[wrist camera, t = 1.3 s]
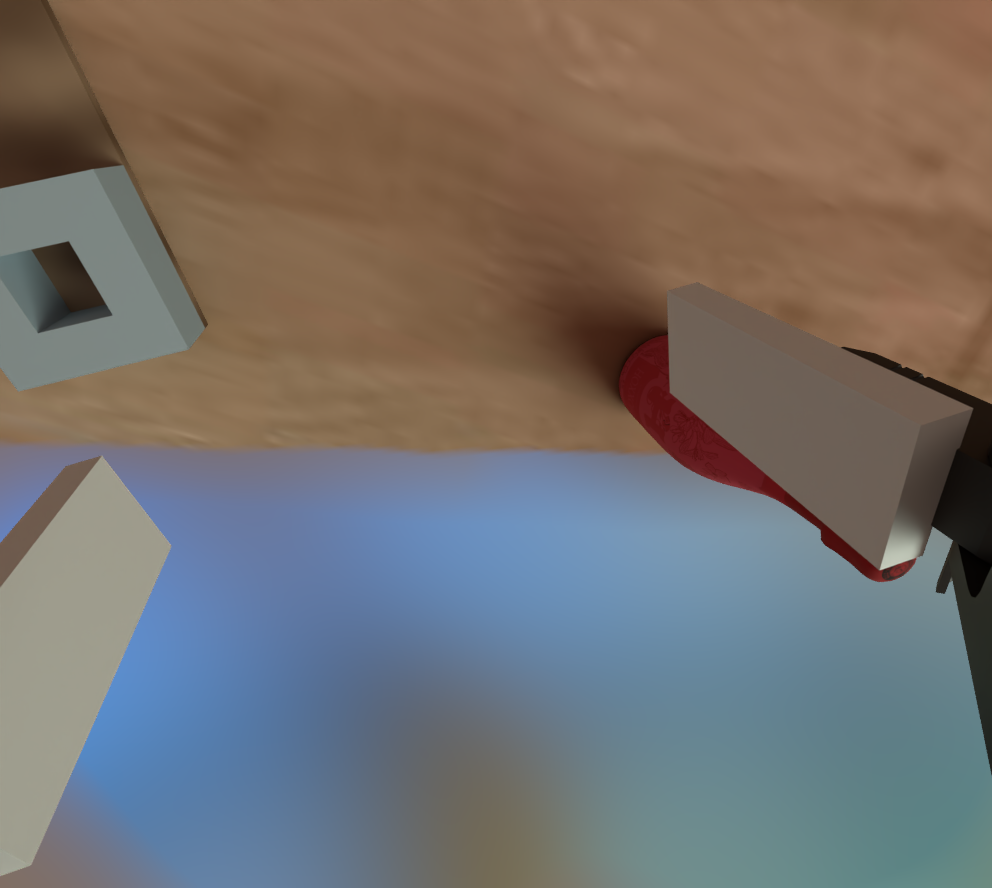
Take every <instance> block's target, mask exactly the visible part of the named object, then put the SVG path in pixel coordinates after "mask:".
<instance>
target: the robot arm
mask: <svg viewBox="0 0 992 888" xmlns="http://www.w3.org/2000/svg"><path fill="white" fill-rule="evenodd" d="M667 309H668V344H669V380H670V393H671V394H672V395H673V396H674V397H676V398H677V399H678V400H679V401H680V402H681V403H683V404H684V405H685V406H686V407H687V408H689V409H690V410H691V411H692V412H693V413H694V414H696V415H697V416H698V417H699V418H700V419H702V420H703V421H704V422H705V423H706V424H707V425H709V426H710V427H711V428H712V429H713V430H714V431H716V432H717V433H718V434H719V435H720V436H722V437H723V438H724V439H725V440H726V441H727V442H729V443H730V444H731V445H732V446H733V447H735V448H736V449H737V450H738V451H739V452H740V453H742V454H743V455H744V456H745V457H746V458H748V459H749V460H750V461H751V462H752V463H753V464H755V465H756V466H757V467H758V468H759V469H760V470H762V471H763V472H764V473H765V474H766V475H768V476H769V477H770V478H771V479H772V480H773V481H775V482H776V483H777V484H778V485H779V486H781V487H782V488H783V489H784V490H785V491H786V492H788V493H789V494H790V495H791V496H792V497H794V498H795V499H796V500H797V501H798V502H799V503H801V504H802V505H803V506H804V507H805V508H806V509H808V510H809V511H810V512H811V513H812V514H814V515H815V516H816V517H817V518H818V519H819V520H821V521H822V522H823V523H824V524H825V525H827V526H828V527H829V528H830V529H831V530H832V531H834V532H835V533H836V534H837V535H838V536H840V537H841V538H842V539H843V540H844V541H845V542H847V543H848V544H849V545H850V546H851V547H852V548H854V549H855V550H856V551H857V552H858V553H860V554H861V555H862V556H863V557H864V558H865V559H867V560H868V561H869V562H870V563H871V564H873V565H874V566H875V567H876V568H877V569H878V570H882V569H885V568H888V567H891V566H894V565H897V564H900V563H902V562H905V561H908V560H911V559H914V558H917V557H920V556H922V555H923V553H924V550H925V547H926V544H927V542H928V539H929V536H930V533H931V529H932V527H934V528H936V529H937V530H939V531H940V532H942V533H943V534H945V535H946V536H948V537H949V538H950V539H952V540H953V542H952V545H951V548H950V550H949V553H948V555H947V558H946V561H945V563H944V566H943V569H942V571H941V574H940V577H939V579H938V582H937V587H936V592H937V593H943V594H944V593H945V592H946V589H947V587H948V584H949V582H951V581H953V585H954V590H955V595H956V600H957V605H958V610H959V615H960V620H961V625H962V630H963V635H964V640H965V644H966V650H967V654H968V660H969V664H970V670H971V675H972V679H973V685H974V690H975V695H976V700H977V705H978V710H979V714H980V719H981V724H982V729H983V734H984V739H985V744H986V749H987V754H988V759H989V764H990V769H991V774H992V404H990V403H988V402H985V401H983V400H981V399H978V398H976V397H974V396H972V395H969V394H967V393H965V392H962V391H960V390H958V389H956V388H953V387H951V386H949V385H946V384H944V383H942V382H940V381H937V380H935V379H933V378H930V377H926V378H924V377H923V374H921V373H919V372H917V371H914V370H912V369H910V368H907V367H905V368H902V367H901V364H898V363H896V362H894V361H891V360H889V359H887V358H885V357H882V356H880V355H878V354H875V353H871V352H866V351H861V350H856V349H852V348H847V347H841V348H840V347H838V346H836V345H833V344H831V343H829V342H827V341H825V340H823V339H820V338H818V337H816V336H814V335H812V334H809V333H807V332H805V331H803V330H801V329H798V328H796V327H794V326H792V325H790V324H787V323H785V322H783V321H781V320H779V319H777V318H774V317H772V316H770V315H768V314H766V313H763V312H761V311H759V310H757V309H755V308H752V307H750V306H748V305H746V304H744V303H741V302H739V301H737V300H735V299H733V298H731V297H728V296H726V295H724V294H722V293H720V292H717V291H715V290H713V289H711V288H709V287H706V286H704V285H702V284H700V283H698V282H696V283H693V284H689V285H686V286H683V287H679V288H676V289H672V290H669V291H667ZM170 548H171V545H170V543H169V542H168V541H167V539H166V538H165V537H164V536H163V534H162V533H161V532H160V530H159V529H158V528H157V527H156V525H155V524H154V523H153V521H152V520H151V519H150V517H149V516H148V515H147V514H146V512H145V511H144V510H143V508H142V507H141V506H140V504H139V503H138V502H137V501H136V499H135V498H134V497H133V495H132V494H131V493H130V491H129V490H128V489H127V488H126V486H125V485H124V484H123V483H122V481H121V480H120V478H119V477H118V476H117V475H116V473H115V472H114V471H113V470H112V468H111V467H110V466H109V464H108V463H107V462H106V461H105V459H104V458H103V457H102V456H99V457H96V458H93V459H89V460H86V461H83V462H79V463H76V464H72V465H69V466H66V467H65V468H64V469H63V470H62V471H61V473H60V474H59V475H58V476H57V477H56V478H55V480H54V481H53V482H52V483H51V484H50V485H49V487H48V488H47V489H46V490H45V491H44V492H43V494H42V495H41V496H40V497H39V498H38V500H37V501H36V502H35V503H34V504H33V506H32V507H31V508H30V509H29V510H28V511H27V512H26V514H25V515H24V516H23V517H22V518H21V519H20V521H19V522H18V523H17V524H16V525H15V527H14V528H13V529H12V530H11V531H10V533H9V534H8V535H7V536H6V537H5V538H4V539H3V541H2V542H1V543H0V876H2V875H4V874H7V873H10V872H13V871H16V870H19V869H21V868H25V867H27V866H30V865H31V864H32V862H33V860H34V857H35V855H36V853H37V851H38V848H39V846H40V844H41V842H42V839H43V837H44V835H45V832H46V830H47V828H48V826H49V823H50V821H51V819H52V817H53V814H54V812H55V810H56V807H57V805H58V803H59V801H60V798H61V796H62V794H63V791H64V789H65V787H66V785H67V782H68V780H69V778H70V776H71V773H72V771H73V768H74V766H75V764H76V762H77V759H78V757H79V755H80V753H81V751H82V748H83V746H84V744H85V742H86V739H87V737H88V735H89V732H90V730H91V728H92V726H93V723H94V721H95V719H96V717H97V714H98V712H99V710H100V707H101V705H102V703H103V701H104V698H105V696H106V694H107V691H108V689H109V687H110V685H111V682H112V680H113V678H114V676H115V673H116V671H117V669H118V667H119V664H120V662H121V660H122V657H123V655H124V653H125V650H126V648H127V646H128V644H129V642H130V639H131V637H132V635H133V632H134V630H135V628H136V625H137V623H138V621H139V619H140V616H141V614H142V612H143V610H144V607H145V605H146V603H147V600H148V598H149V596H150V594H151V592H152V589H153V587H154V585H155V582H156V580H157V578H158V576H159V573H160V571H161V569H162V567H163V564H164V562H165V560H166V557H167V555H168V553H169V551H170Z"/></svg>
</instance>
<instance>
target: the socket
mask: <svg viewBox="0 0 992 888" xmlns="http://www.w3.org/2000/svg"><path fill="white" fill-rule="evenodd" d="M67 241H69V242H70V244H71V246H72V247H73V249H74V251H75V252H76V254H77V256H78V257H79V259H80V261H81V262H82V264H83V266H84V268H85V269H86V271H87V273H88V274H89V276H90V278H91V279H92V281H93V283H94V284H95V286H96V288H97V289H98V291H99V293H100V294H101V296H102V298H103V300H104V301H105V303H106V304H105V305H101V306H97V307H93V308H88V309H84V310H80V311H76V312H70V310H69V308H68V307H67V305H66V304H65V302H64V301H63V299H62V297H61V296H60V294H59V293H58V291H57V290H56V288H55V286H54V285H53V283H52V282H51V280H50V279H49V277H48V275H47V274H46V272H45V271H44V269H43V268H42V266H41V264H40V263H39V261H38V260H37V258H36V257H35V255H34V253H33V252H32V250H31V249H36V248H40V247H45V246H49V245H54V244H58V243H63V242H67ZM204 329H205V327H204V325H203V323H202V321H201V319H200V317H199V315H198V313H197V311H196V309H195V307H194V305H193V303H192V301H191V299H190V297H189V295H188V293H187V291H186V289H185V287H184V285H183V283H182V281H181V279H180V277H179V275H178V273H177V271H176V269H175V267H174V265H173V263H172V261H171V259H170V257H169V255H168V253H167V251H166V249H165V247H164V245H163V243H162V241H161V239H160V237H159V235H158V233H157V231H156V229H155V227H154V225H153V223H152V221H151V219H150V217H149V215H148V213H147V211H146V209H145V207H144V205H143V203H142V201H141V199H140V197H139V195H138V193H137V191H136V189H135V187H134V185H133V183H132V181H131V179H130V177H129V175H128V173H127V171H126V169H125V167H124V165H121V166H113V167H106V168H98V169H91V170H87V171H82V172H77V173H72V174H68V175H63V176H58V177H53V178H49V179H44V180H39V181H34V182H30V183H25V184H20V185H15V186H11V187H6V188H1V189H0V368H1V369H2V371H3V372H4V373H5V375H6V376H7V377H8V378H9V380H10V381H11V382H12V384H13V385H14V386H15V388H16V389H17V390H18V391H22V390H26V389H30V388H34V387H38V386H42V385H46V384H50V383H54V382H59V381H63V380H67V379H71V378H75V377H79V376H83V375H87V374H91V373H95V372H99V371H103V370H107V369H111V368H115V367H119V366H123V365H127V364H131V363H135V362H140V361H144V360H148V359H152V358H156V357H160V356H164V355H168V354H172V353H176V352H180V351H184V350H188V349H189V348H190V347H191V346H192V345H193V343H194V342H195V341H196V339H197V338H198V337H199V336H200V334H201V333H202V332H203V330H204Z"/></svg>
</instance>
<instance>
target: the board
mask: <svg viewBox="0 0 992 888" xmlns="http://www.w3.org/2000/svg"><path fill="white" fill-rule="evenodd" d="M121 165H124V167H125V169H126V171H127V173H128V175H129V177H130V179H131V181H132V183H133V185H134V187H135V189H136V191H137V193H138V195H139V197H140V199H141V201H142V203H143V205H144V207H145V209H146V211H147V213H148V215H149V217H150V219H151V221H152V223H153V225H154V227H155V229H156V231H157V233H158V235H159V237H160V239H161V241H162V243H163V245H164V247H165V249H166V251H167V253H168V255H169V257H170V259H171V261H172V263H173V265H174V267H175V269H176V271H177V273H178V275H179V277H180V279H181V281H182V283H183V285H184V287H185V289H186V291H187V293H188V295H189V297H190V299H191V301H192V303H193V305H194V307H195V309H196V311H197V313H198V315H199V317H200V319H201V321H202V323H203V325H204V327H205V328H206V327H207V325H208V323H207V321H206V319H205V317H204V315H203V313H202V311H201V309H200V307H199V305H198V303H197V301H196V299H195V297H194V295H193V293H192V291H191V289H190V287H189V285H188V283H187V281H186V279H185V277H184V275H183V273H182V271H181V269H180V267H179V265H178V263H177V261H176V259H175V257H174V255H173V253H172V251H171V249H170V247H169V245H168V243H167V241H166V239H165V237H164V235H163V233H162V231H161V229H160V227H159V225H158V223H157V221H156V219H155V217H154V215H153V213H152V211H151V209H150V207H149V205H148V203H147V201H146V199H145V197H144V194H143V192H142V190H141V188H140V186H139V184H138V182H137V180H136V178H135V176H134V174H133V172H132V170H131V168H130V166H129V164H128V162H127V160H126V158H125V156H124V154H123V152H122V150H121V148H120V146H119V144H118V142H117V140H116V138H115V136H114V134H113V132H112V130H111V128H110V126H109V124H108V122H107V120H106V118H105V116H104V114H103V112H102V110H101V108H100V106H99V104H98V102H97V100H96V98H95V96H94V94H93V92H92V90H91V88H90V86H89V84H88V82H87V80H86V78H85V76H84V74H83V72H82V70H81V68H80V66H79V64H78V62H77V60H76V57H75V55H74V53H73V51H72V49H71V47H70V45H69V43H68V41H67V39H66V37H65V35H64V33H63V31H62V29H61V27H60V25H59V23H58V21H57V19H56V17H55V15H54V13H53V11H52V9H51V7H50V5H49V3H48V1H47V0H0V189H1V188H6V187H11V186H15V185H20V184H25V183H30V182H34V181H39V180H44V179H49V178H53V177H58V176H63V175H68V174H72V173H77V172H82V171H87V170H91V169H98V168H106V167H113V166H121ZM31 250H32V252H33V253H34V255H35V257H36V258H37V260H38V261H39V263H40V264H41V266H42V268H43V269H44V271H45V272H46V274H47V275H48V277H49V279H50V280H51V282H52V283H53V285H54V286H55V288H56V290H57V291H58V293H59V294H60V296H61V297H62V299H63V301H64V302H65V304H66V305H67V307H68V308H69V310H70V312H76V311H80V310H84V309H88V308H93V307H97V306H101V305H105V304H106V303H105V301H104V300H103V298H102V296H101V294H100V293H99V291H98V289H97V288H96V286H95V284H94V283H93V281H92V279H91V278H90V276H89V274H88V273H87V271H86V269H85V268H84V266H83V264H82V262H81V261H80V259H79V257H78V256H77V254H76V252H75V251H74V249H73V247H72V246H71V244H70V242H69V241H67V242H63V243H58V244H54V245H49V246H45V247H40V248H36V249H31Z"/></svg>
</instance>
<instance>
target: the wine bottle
mask: <svg viewBox="0 0 992 888" xmlns="http://www.w3.org/2000/svg"><path fill="white" fill-rule="evenodd" d="M619 392H620V396H621V399H622V401H623V403H624V405H625V407H626V408H627V409H628V410H629V412H630V413H631V414H632V415H633V416H634V418H635V419H636V420H637V421H638V422H639V423H640V424H641V425H642V426H643V428H644V429H645V430H646V431H647V432H648V433H649V434H650V435H651V436H652V437H653V438H654V439H655V440H656V441H657V443H658V444H659V445H660V446H661V447H662V448H663V449H664V450H665V451H666V452H667V453H669V454H670V455H671V456H672V457H673V458H674V459H675V460H677V461H678V462H679V463H680V464H682V465H683V466H684V467H686V468H688V469H690V470H691V471H693V472H695V473H697V474H699V475H701V476H704V477H706V478H708V479H711V480H714V481H717V482H720V483H723V484H726V485H730V486H734V487H738V488H742V489H746V490H750V491H753V492H757V493H760V494H764V495H766V496H769V497H771V498H774V499H776V500H778V501H779V502H781V503H783V504H785V505H786V506H788V507H789V508H791V509H792V510H794V511H795V512H797V513H798V514H799V515H801V516H802V517H804V518H805V519H807V520H808V521H809V522H811V523H812V524H814V525H815V526H816V527H817V528H819V529H820V530H821V540H822V542H823V543H824V544H825V545H826V546H827V547H829V548H830V549H832V550H833V551H835V552H836V553H838V554H839V555H840V556H842V557H843V558H844V559H846V560H847V561H848V562H850V563H851V564H852V565H853V566H854V567H855V568H856V569H857V570H859V571H860V572H861V573H862V574H863V575H865V576H866V577H867V578H869V579H871V580H874V581H877V582H885V581H892V580H895V579H897V578H900V577H902V576H903V575H904V574H906V573H907V572H908V571H909V570H910V569H911V568H912V566H913V565H914V563H915V561H916V558H914V559H911V560H908V561H905V562H902V563H900V564H897V565H894V566H891V567H888V568H885V569H882V570H878V569H877V568H876V567H875V566H874V565H873V564H871V563H870V562H869V561H868V560H867V559H865V558H864V557H863V556H862V555H861V554H860V553H858V552H857V551H856V550H855V549H854V548H852V547H851V546H850V545H849V544H848V543H847V542H845V541H844V540H843V539H842V538H841V537H840V536H838V535H837V534H836V533H835V532H834V531H832V530H831V529H830V528H829V527H828V526H827V525H825V524H824V523H823V522H822V521H821V520H819V519H818V518H817V517H816V516H815V515H814V514H812V513H811V512H810V511H809V510H808V509H806V508H805V507H804V506H803V505H802V504H801V503H799V502H798V501H797V500H796V499H795V498H794V497H792V496H791V495H790V494H789V493H788V492H786V491H785V490H784V489H783V488H782V487H781V486H779V485H778V484H777V483H776V482H775V481H773V480H772V479H771V478H770V477H769V476H768V475H766V474H765V473H764V472H763V471H762V470H760V469H759V468H758V467H757V466H756V465H755V464H753V463H752V462H751V461H750V460H749V459H748V458H746V457H745V456H744V455H743V454H742V453H740V452H739V451H738V450H737V449H736V448H735V447H733V446H732V445H731V444H730V443H729V442H727V441H726V440H725V439H724V438H723V437H722V436H720V435H719V434H718V433H717V432H716V431H714V430H713V429H712V428H711V427H710V426H709V425H707V424H706V423H705V422H704V421H703V420H702V419H700V418H699V417H698V416H697V415H696V414H694V413H693V412H692V411H691V410H690V409H689V408H687V407H686V406H685V405H684V404H683V403H681V402H680V401H679V400H678V399H677V398H676V397H674V396H673V395H672V394H671V393H670V380H669V344H668V335H663V336H659V337H655V338H653V339H651V340H649V341H647V342H645V343H644V344H642V345H641V346H639V347H638V348H637V349H636V350H635V351H634V352H633V353H632V354H631V355H630V357H629V358H628V359H627V361H626V363H625V365H624V367H623V369H622V372H621V375H620V380H619Z"/></svg>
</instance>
